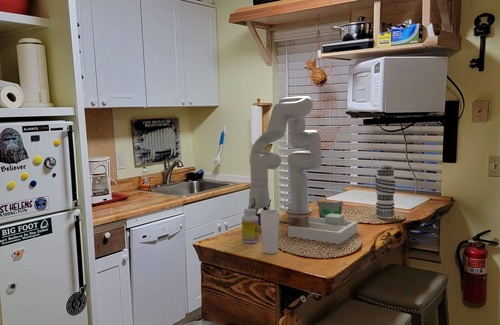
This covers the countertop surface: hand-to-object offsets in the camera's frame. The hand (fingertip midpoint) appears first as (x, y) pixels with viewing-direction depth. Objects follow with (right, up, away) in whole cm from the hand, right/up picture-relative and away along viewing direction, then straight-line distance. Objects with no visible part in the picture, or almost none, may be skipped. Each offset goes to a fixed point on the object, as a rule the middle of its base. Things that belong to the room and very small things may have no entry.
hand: (260, 221), depth 184 cm
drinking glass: (+3, -7, -33) cm, 34 cm away
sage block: (+31, -2, -9) cm, 32 cm away
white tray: (+26, -4, -11) cm, 29 cm away
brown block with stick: (+9, -2, -5) cm, 10 cm away
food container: (+32, -2, +9) cm, 33 cm away
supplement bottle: (-4, -6, -19) cm, 20 cm away
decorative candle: (+61, -1, +17) cm, 63 cm away
